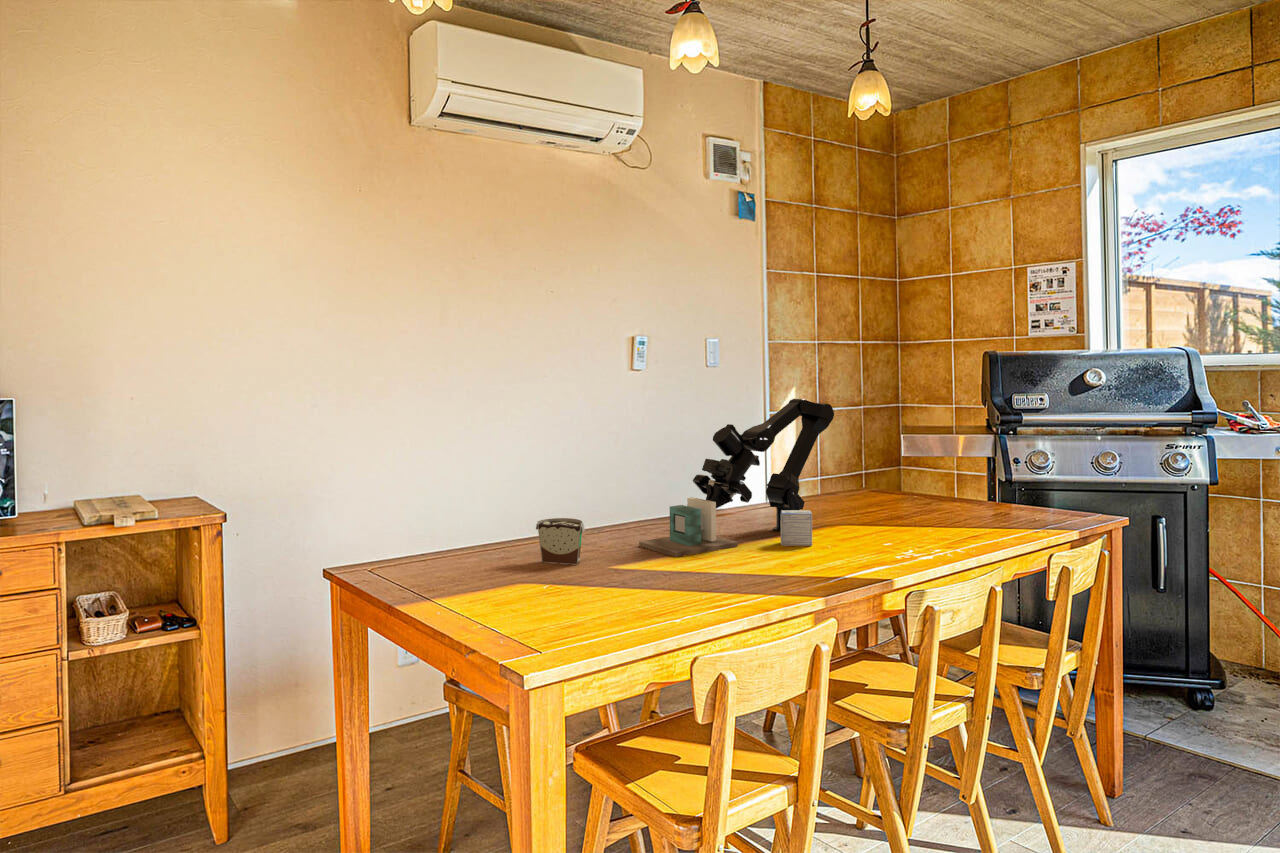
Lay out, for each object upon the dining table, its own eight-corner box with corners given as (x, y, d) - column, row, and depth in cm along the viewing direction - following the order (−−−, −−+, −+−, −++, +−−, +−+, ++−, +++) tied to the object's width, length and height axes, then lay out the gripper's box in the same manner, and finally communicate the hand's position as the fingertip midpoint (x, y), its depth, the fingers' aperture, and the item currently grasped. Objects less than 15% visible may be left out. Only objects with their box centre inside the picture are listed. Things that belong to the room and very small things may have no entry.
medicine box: (810, 542, 224) (810, 510, 223) (812, 546, 219) (812, 513, 219) (780, 542, 224) (780, 509, 224) (781, 546, 220) (781, 513, 219)
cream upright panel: (691, 534, 228) (691, 497, 227) (715, 540, 219) (715, 502, 219) (668, 537, 223) (668, 500, 222) (692, 544, 215) (691, 505, 214)
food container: (593, 559, 207) (592, 519, 206) (583, 565, 201) (582, 523, 200) (547, 556, 211) (546, 516, 210) (536, 562, 205) (535, 521, 204)
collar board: (699, 536, 233) (699, 499, 232) (738, 546, 220) (738, 507, 219) (639, 546, 222) (638, 507, 221) (676, 557, 209) (675, 516, 208)
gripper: (698, 445, 233) (665, 488, 227) (743, 450, 217) (710, 497, 212) (720, 471, 238) (689, 514, 232) (766, 478, 222) (734, 525, 217)
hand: (704, 512), depth 223 cm, fingers closed, pressing on cream upright panel
